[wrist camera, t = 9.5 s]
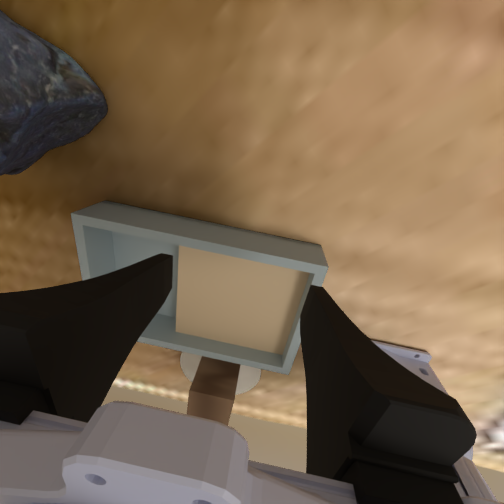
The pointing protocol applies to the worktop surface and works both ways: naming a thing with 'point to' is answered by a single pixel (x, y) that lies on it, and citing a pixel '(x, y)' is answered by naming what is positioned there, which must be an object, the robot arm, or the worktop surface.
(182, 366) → the coaster
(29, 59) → the rock
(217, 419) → the block
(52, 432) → the robot arm
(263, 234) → the caddy
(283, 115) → the worktop surface
